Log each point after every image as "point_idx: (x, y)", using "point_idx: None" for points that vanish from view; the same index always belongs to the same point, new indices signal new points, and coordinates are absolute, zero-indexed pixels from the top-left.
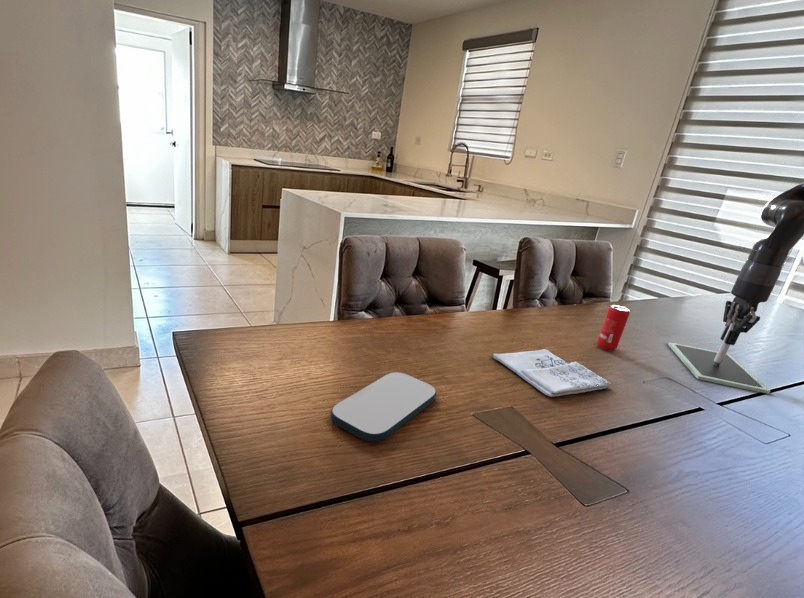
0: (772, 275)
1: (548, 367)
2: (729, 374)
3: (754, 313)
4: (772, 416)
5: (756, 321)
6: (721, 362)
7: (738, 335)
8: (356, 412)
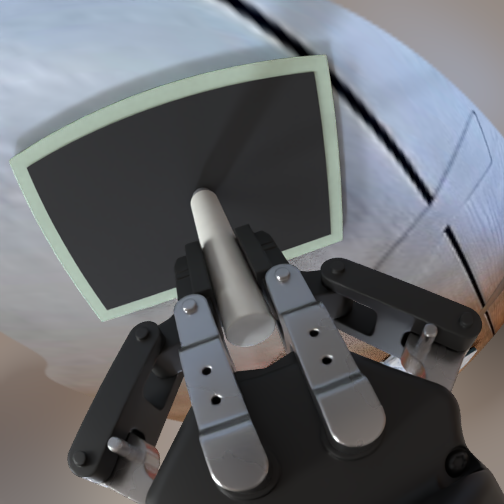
0: None
1: (395, 368)
2: (272, 160)
3: (457, 371)
4: (437, 108)
5: (454, 309)
6: (213, 193)
7: (285, 260)
8: (464, 363)
